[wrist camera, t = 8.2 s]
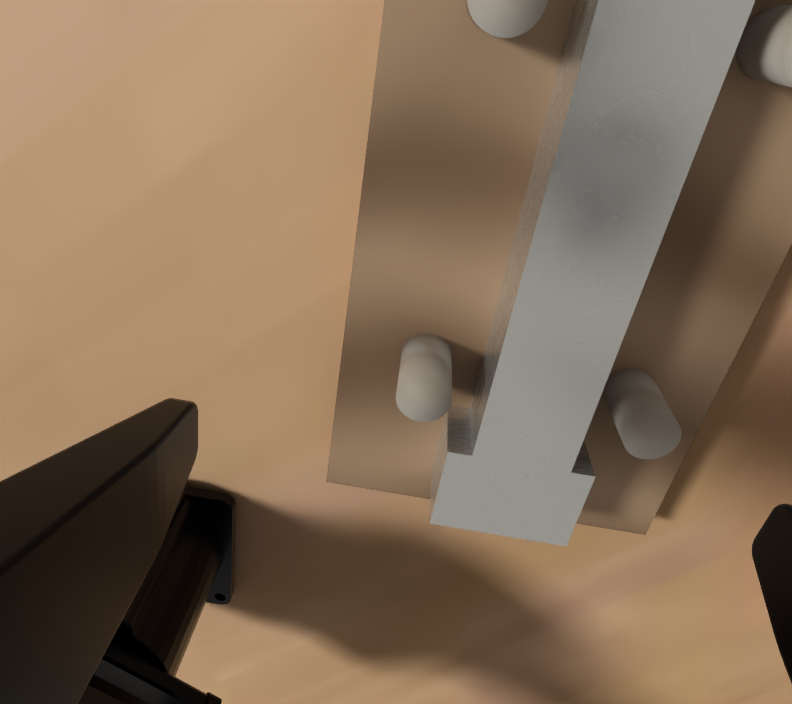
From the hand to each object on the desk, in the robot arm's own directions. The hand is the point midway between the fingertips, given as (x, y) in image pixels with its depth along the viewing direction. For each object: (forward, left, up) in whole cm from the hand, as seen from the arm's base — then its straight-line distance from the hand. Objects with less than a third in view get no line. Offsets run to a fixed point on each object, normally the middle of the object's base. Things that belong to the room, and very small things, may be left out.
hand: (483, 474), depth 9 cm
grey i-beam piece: (+2, -3, -10) cm, 10 cm away
